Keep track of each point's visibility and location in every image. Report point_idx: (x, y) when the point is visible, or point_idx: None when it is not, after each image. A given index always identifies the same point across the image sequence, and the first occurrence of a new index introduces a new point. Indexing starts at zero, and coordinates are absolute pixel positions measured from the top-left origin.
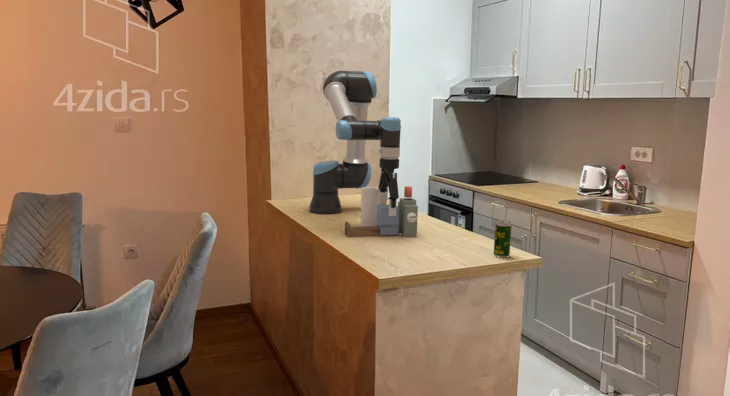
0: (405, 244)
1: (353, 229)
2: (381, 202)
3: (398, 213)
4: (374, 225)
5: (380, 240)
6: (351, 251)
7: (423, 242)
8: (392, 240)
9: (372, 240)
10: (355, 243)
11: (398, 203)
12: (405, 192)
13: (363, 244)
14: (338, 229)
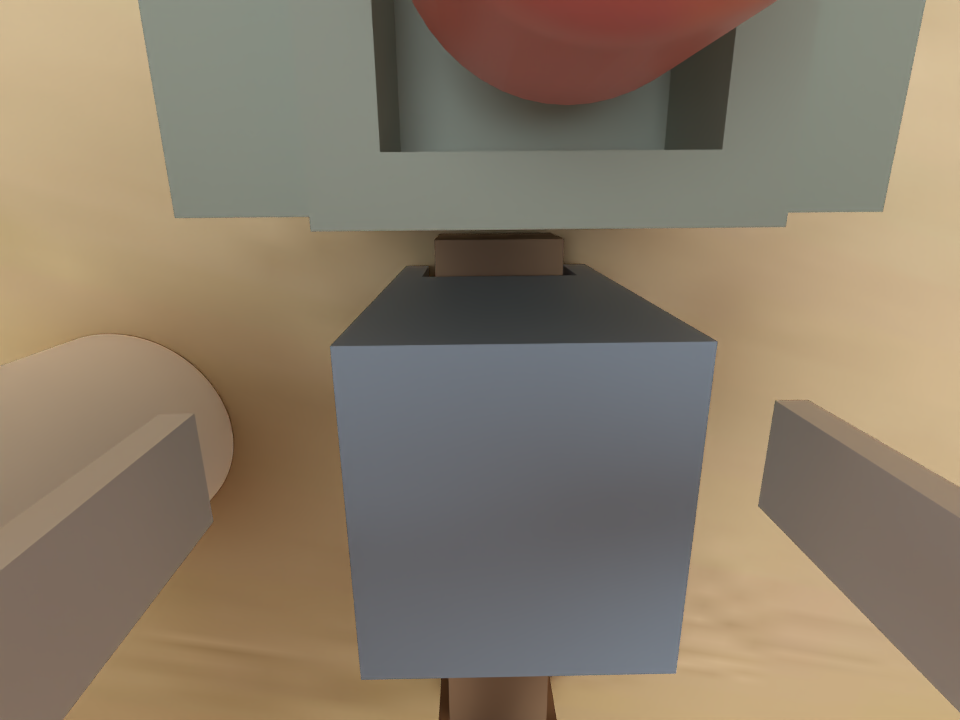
0: (923, 284)
1: (545, 696)
2: (149, 573)
3: (664, 314)
4: (215, 429)
5: (713, 468)
6: (952, 716)
7: (920, 60)
8: (743, 365)
9: (695, 529)
10: (751, 661)
11: (244, 215)
12: (768, 5)
13: (798, 616)
14: (269, 704)
